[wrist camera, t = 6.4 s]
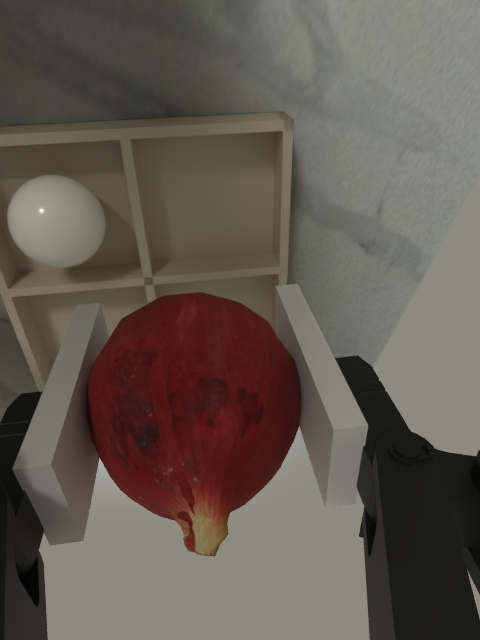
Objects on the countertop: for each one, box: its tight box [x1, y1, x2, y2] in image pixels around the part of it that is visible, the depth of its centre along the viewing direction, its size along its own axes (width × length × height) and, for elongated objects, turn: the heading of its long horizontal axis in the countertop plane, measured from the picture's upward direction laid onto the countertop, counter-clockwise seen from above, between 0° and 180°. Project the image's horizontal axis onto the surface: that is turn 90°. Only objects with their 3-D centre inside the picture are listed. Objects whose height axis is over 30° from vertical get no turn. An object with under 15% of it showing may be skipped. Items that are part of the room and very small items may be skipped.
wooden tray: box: [0, 112, 294, 392], centre depth 31 cm, size 20×20×3 cm
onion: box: [88, 292, 301, 556], centre depth 12 cm, size 6×6×8 cm
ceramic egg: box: [7, 175, 106, 268], centre depth 27 cm, size 6×6×6 cm
